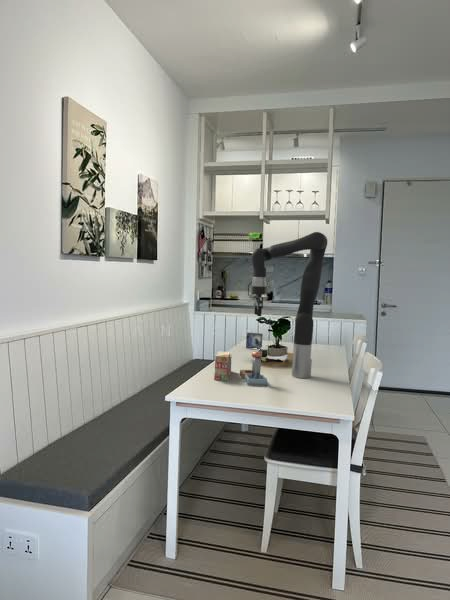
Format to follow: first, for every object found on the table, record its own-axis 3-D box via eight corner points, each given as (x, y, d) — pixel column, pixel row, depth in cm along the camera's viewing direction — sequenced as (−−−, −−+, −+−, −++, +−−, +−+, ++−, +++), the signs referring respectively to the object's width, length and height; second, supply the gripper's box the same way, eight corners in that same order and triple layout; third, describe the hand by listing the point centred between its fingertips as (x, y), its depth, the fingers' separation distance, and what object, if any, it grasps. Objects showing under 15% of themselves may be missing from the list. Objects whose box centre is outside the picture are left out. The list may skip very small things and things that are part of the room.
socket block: (256, 375, 245) (257, 370, 245) (260, 380, 236) (260, 374, 236) (239, 375, 244) (240, 369, 244) (242, 379, 235) (242, 373, 235)
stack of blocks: (219, 370, 253) (220, 347, 252) (231, 371, 252) (232, 348, 251) (214, 380, 232) (215, 355, 231) (226, 381, 231) (228, 356, 230)
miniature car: (287, 362, 285) (288, 349, 285) (259, 362, 280) (259, 349, 280) (281, 359, 294) (282, 346, 293) (254, 359, 289) (254, 346, 288)
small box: (245, 348, 322) (246, 333, 321) (246, 347, 329) (247, 332, 328) (261, 350, 320) (262, 334, 320) (261, 348, 327) (262, 333, 326)
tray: (263, 380, 235) (263, 374, 235) (266, 385, 226) (267, 379, 226) (244, 380, 234) (245, 374, 234) (247, 385, 225) (248, 379, 225)
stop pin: (259, 379, 233) (261, 351, 232) (261, 382, 228) (262, 353, 227) (250, 379, 232) (251, 351, 231) (251, 382, 227) (253, 353, 226)
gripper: (268, 286, 251) (267, 316, 252) (263, 285, 265) (262, 314, 266) (254, 285, 250) (253, 316, 251) (250, 284, 264) (248, 313, 265)
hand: (257, 315), depth 259 cm, fingers open, 8 cm apart
